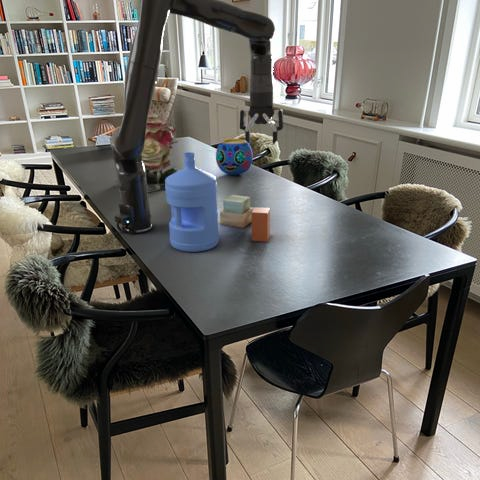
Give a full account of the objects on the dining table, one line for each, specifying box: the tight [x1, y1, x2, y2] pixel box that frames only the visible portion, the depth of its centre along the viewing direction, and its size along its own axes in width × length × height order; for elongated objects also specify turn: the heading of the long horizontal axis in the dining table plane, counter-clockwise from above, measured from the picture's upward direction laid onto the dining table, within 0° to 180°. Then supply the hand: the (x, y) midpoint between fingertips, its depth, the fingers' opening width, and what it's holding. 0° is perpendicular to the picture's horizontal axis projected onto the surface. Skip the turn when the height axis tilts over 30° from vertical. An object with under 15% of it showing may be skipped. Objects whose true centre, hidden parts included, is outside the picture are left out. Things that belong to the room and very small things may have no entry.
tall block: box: [251, 206, 271, 243], centre depth 157 cm, size 5×5×10 cm
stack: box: [219, 194, 254, 229], centre depth 171 cm, size 9×9×8 cm
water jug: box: [164, 151, 220, 253], centre depth 149 cm, size 16×16×28 cm
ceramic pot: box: [215, 138, 254, 176], centre depth 228 cm, size 18×18×15 cm
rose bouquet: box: [142, 112, 179, 193], centre depth 209 cm, size 26×29×30 cm
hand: (261, 143), depth 163 cm, fingers open, 8 cm apart
